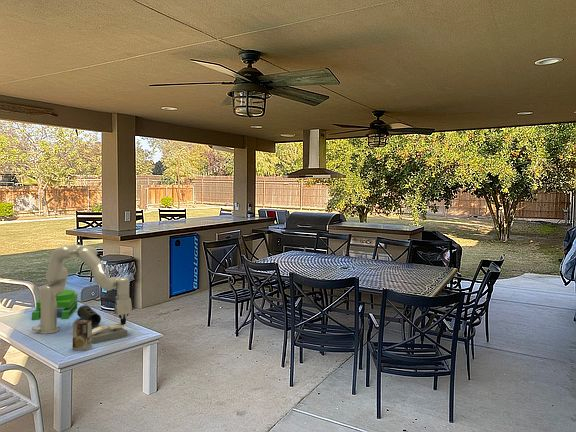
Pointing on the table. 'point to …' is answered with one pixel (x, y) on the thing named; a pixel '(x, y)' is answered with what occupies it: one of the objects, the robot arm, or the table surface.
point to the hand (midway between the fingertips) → (123, 324)
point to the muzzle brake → (89, 315)
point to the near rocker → (98, 329)
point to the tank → (60, 305)
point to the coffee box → (82, 335)
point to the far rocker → (115, 326)
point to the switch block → (108, 335)
